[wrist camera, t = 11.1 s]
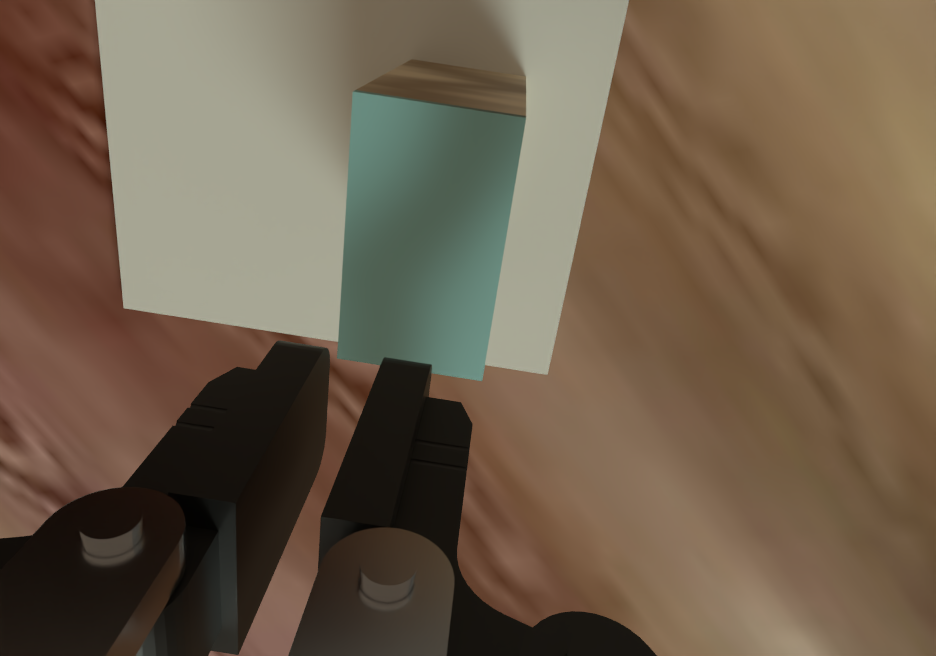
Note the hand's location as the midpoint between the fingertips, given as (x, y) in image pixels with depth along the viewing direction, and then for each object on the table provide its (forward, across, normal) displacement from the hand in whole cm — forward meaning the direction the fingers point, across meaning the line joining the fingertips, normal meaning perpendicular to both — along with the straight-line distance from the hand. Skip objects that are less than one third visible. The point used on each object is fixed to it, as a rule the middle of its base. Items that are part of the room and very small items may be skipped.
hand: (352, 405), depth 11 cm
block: (+16, 0, 0) cm, 16 cm away
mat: (+17, +4, 0) cm, 17 cm away
